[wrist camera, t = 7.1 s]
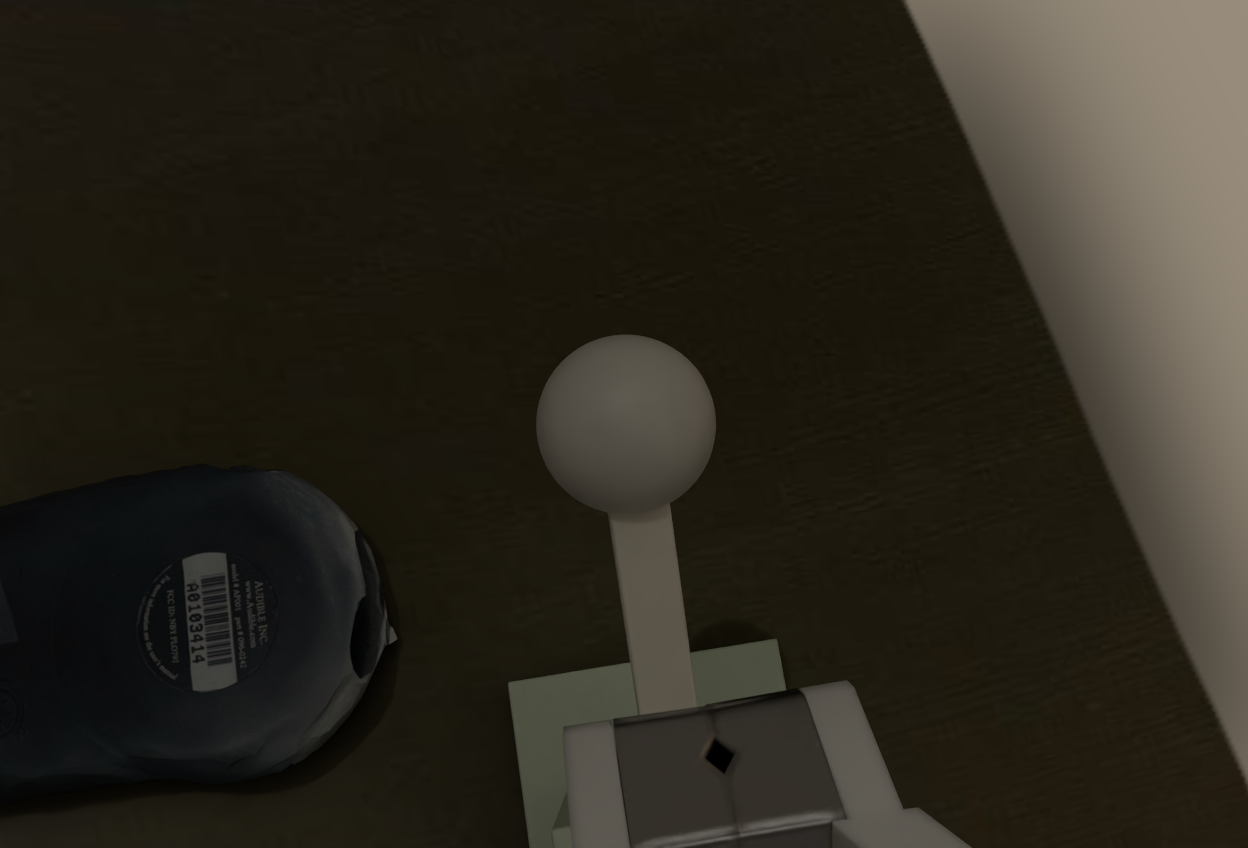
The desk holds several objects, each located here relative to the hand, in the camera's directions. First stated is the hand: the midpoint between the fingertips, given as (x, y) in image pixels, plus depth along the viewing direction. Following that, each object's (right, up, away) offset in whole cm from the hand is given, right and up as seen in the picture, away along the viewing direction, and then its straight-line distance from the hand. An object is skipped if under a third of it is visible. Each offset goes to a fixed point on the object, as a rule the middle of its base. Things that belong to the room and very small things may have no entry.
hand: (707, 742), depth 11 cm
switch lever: (0, -1, +11) cm, 11 cm away
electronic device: (-16, -3, +22) cm, 27 cm away
